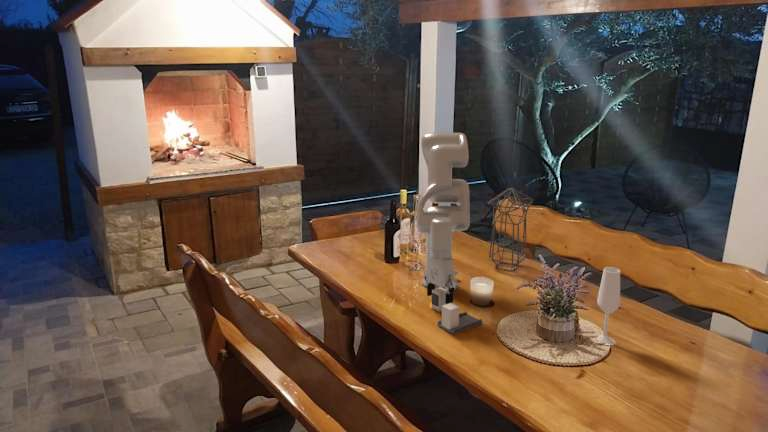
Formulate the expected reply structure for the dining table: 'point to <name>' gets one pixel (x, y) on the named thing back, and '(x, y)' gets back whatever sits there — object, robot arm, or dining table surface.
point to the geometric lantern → (509, 223)
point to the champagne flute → (609, 298)
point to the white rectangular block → (438, 298)
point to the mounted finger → (450, 316)
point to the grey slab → (462, 323)
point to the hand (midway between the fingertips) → (439, 299)
